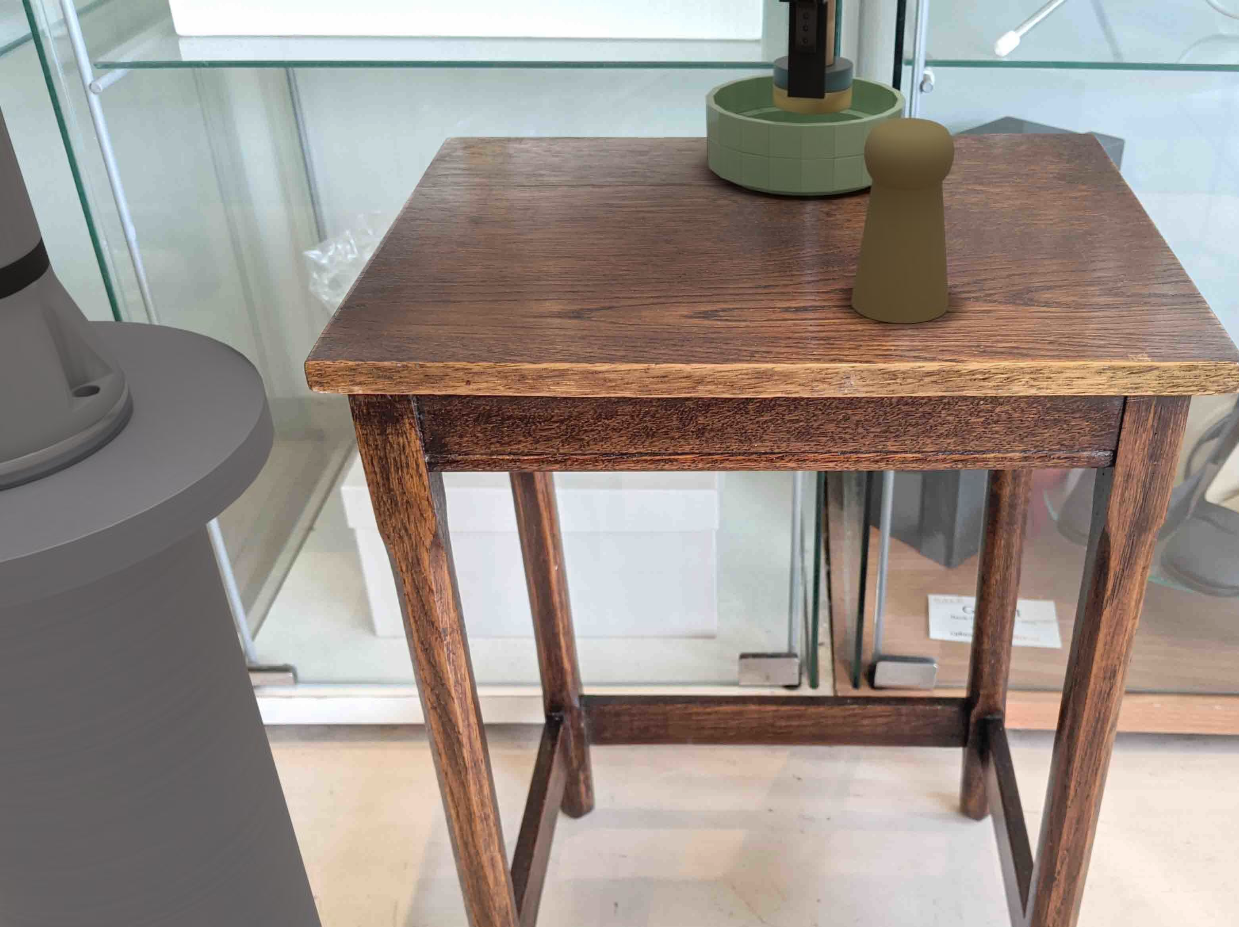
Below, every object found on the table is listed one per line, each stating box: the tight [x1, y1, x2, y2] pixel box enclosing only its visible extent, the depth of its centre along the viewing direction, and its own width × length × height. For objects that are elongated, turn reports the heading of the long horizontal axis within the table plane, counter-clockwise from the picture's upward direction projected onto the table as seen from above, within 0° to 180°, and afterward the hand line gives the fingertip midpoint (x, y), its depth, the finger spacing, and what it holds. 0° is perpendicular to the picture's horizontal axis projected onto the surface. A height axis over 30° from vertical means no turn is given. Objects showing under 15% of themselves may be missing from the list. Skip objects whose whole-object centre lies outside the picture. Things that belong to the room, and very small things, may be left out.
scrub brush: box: [772, 0, 854, 114], centre depth 97 cm, size 6×6×9 cm
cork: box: [850, 117, 955, 324], centre depth 77 cm, size 6×6×11 cm
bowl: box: [705, 73, 907, 197], centre depth 101 cm, size 15×15×6 cm
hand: (811, 85), depth 98 cm, fingers closed on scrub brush, 6 cm apart
